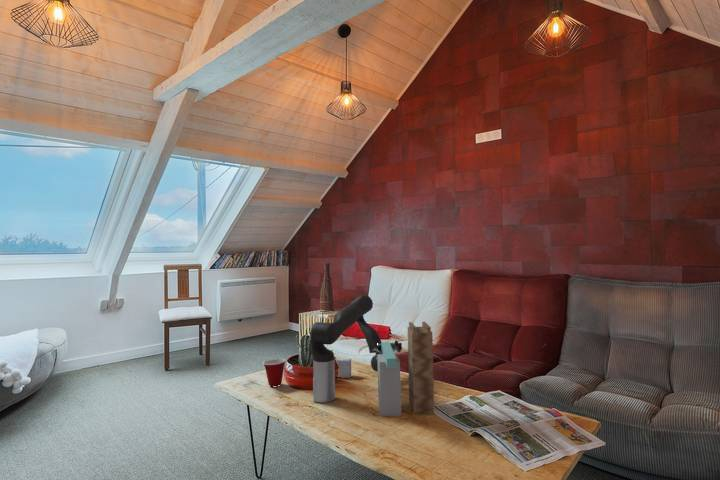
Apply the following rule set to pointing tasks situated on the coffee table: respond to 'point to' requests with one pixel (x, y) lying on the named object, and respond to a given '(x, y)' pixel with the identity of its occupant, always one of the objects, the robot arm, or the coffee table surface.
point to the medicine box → (344, 368)
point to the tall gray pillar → (389, 388)
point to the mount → (420, 369)
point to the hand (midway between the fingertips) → (386, 343)
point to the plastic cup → (274, 371)
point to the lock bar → (388, 355)
